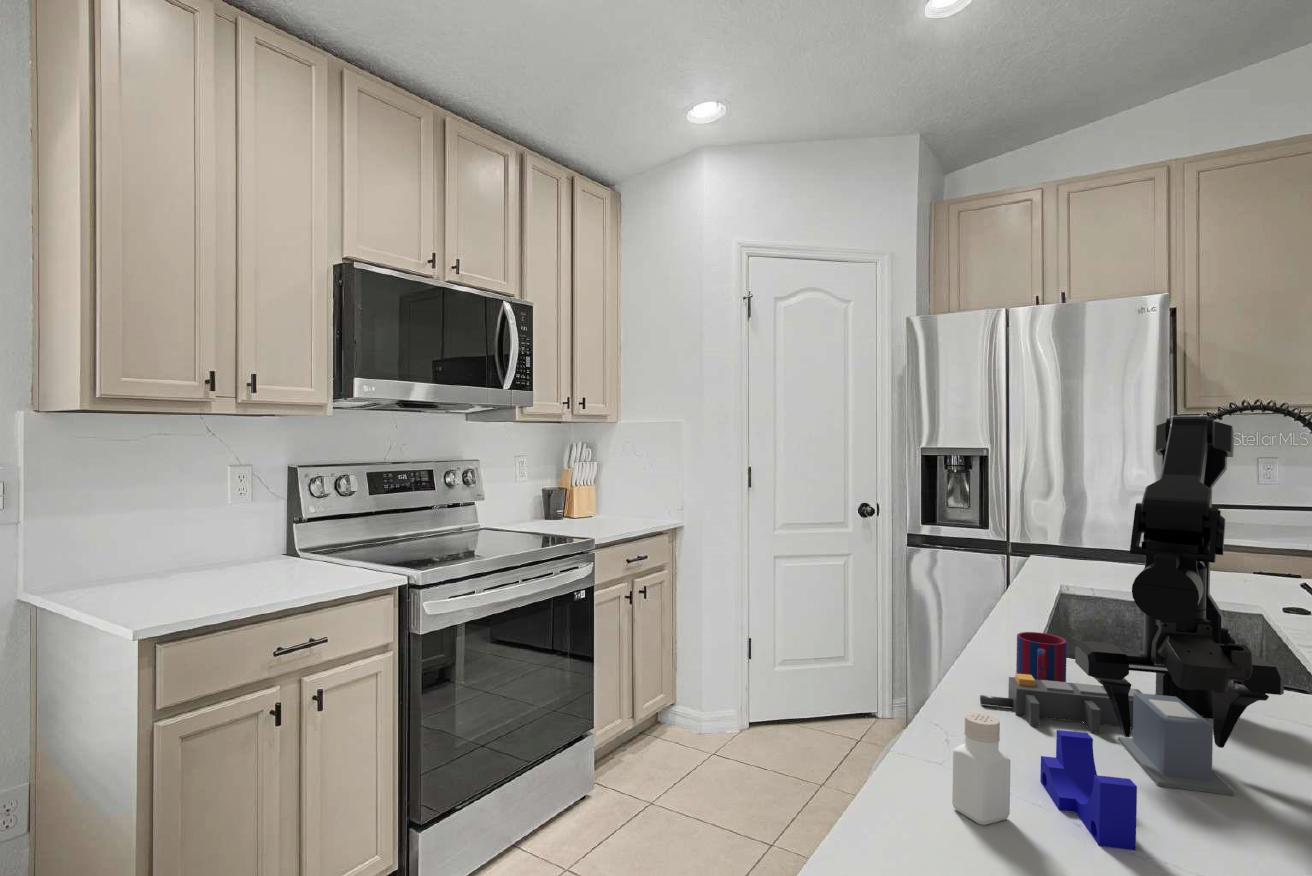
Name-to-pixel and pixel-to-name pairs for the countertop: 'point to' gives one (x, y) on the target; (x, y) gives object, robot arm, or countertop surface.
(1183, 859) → the countertop surface
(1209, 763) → the block
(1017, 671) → the mug
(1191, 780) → the mat
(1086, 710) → the power strip
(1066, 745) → the cable clip
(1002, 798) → the pepper shaker
